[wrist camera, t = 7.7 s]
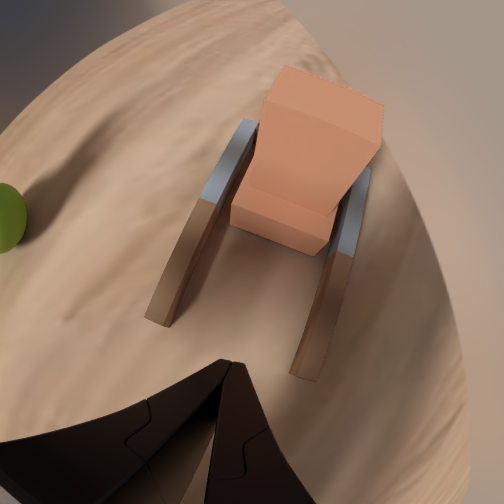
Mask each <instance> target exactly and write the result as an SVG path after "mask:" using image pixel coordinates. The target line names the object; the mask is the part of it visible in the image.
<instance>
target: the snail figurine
mask: <svg viewBox="0 0 504 504" xmlns="http://www.w3.org/2000/svg"><path fill="white" fill-rule="evenodd" d="M26 223H27V210H26V205H25V202H24V200H23V198H22V196H21V194H20V193H19V192H18V191H17V190H16V189H15V188H14V187H12V186H10V185H8V184H5V183H0V254H2V253H5V252H7V251H9V250H11V249H12V248H13V247H15V246H16V245H17V243H18V242H19V241H20V239H21V238H22V236H23V234H24V231H25V228H26Z"/></svg>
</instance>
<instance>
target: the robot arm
mask: <svg viewBox="0 0 504 504" xmlns="http://www.w3.org/2000/svg"><path fill="white" fill-rule="evenodd" d="M214 432H215V434H214ZM213 434H214V441H213V447H212V453H211V460H210V466H209V473H208V479H207V486H206V492H205V499H204V504H316V503H315V501H314V500H313V498H312V497H311V496H310V494H309V493H308V491H307V490H306V489H305V487H304V486H303V484H302V483H301V481H300V480H299V478H298V477H297V476H296V474H295V473H294V471H293V470H292V468H291V467H290V465H289V464H288V462H287V460H286V459H285V457H284V455H283V454H282V452H281V450H280V448H279V446H278V444H277V442H276V440H275V438H274V435H273V433H272V431H271V429H270V427H269V424H268V422H267V419H266V417H265V414H264V412H263V409H262V407H261V404H260V402H259V399H258V397H257V394H256V391H255V389H254V386H253V384H252V381H251V378H250V376H249V373H248V370H247V368H246V365H245V364H244V363H240V362H231V361H229V360H224V359H219V360H217V361H215V362H213V363H212V364H210V365H208V366H206V367H205V368H203V369H201V370H199V371H198V372H196V373H194V374H192V375H190V376H189V377H187V378H185V379H183V380H181V381H179V382H177V383H176V384H174V385H172V386H170V387H168V388H166V389H164V390H162V391H160V392H159V393H157V394H155V395H153V396H151V397H149V398H147V400H146V399H144V400H142V401H140V402H138V403H136V404H134V405H132V406H129V407H127V408H125V409H123V410H120V411H117V412H115V413H112V414H109V415H106V416H103V417H100V418H97V419H94V420H91V421H87V422H84V423H81V424H77V425H74V426H70V427H67V428H63V429H60V430H56V431H52V432H48V433H44V434H40V435H35V436H31V437H27V438H22V439H17V440H12V441H7V442H0V504H180V502H181V500H182V498H183V496H184V494H185V492H186V490H187V488H188V486H189V484H190V482H191V480H192V478H193V476H194V474H195V472H196V470H197V468H198V465H199V463H200V461H201V459H202V457H203V455H204V453H205V451H206V449H207V447H208V444H209V442H210V440H211V438H212V436H213Z"/></svg>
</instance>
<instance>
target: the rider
mask: <svg viewBox="0 0 504 504" xmlns="http://www.w3.org/2000/svg"><path fill="white" fill-rule="evenodd" d="M383 116H384V105H383V104H380V103H378V102H377V101H375V100H373V99H371V98H368V97H366V96H364V95H362V94H360V93H358V92H356V91H353V90H351V89H349V88H346V87H344V86H342V85H339V84H337V83H334V82H332V81H329V80H327V79H324V78H321V77H319V76H316V75H313V74H310V73H308V72H305V71H302V70H299V69H296V68H293V67H290V66H287V65H285V66H284V67H283V69H282V70H281V72H280V74H279V75H278V77H277V79H276V80H275V82H274V84H273V85H272V87H271V89H270V90H269V92H268V94H267V96H266V97H265V99H264V103H263V109H262V114H261V120H260V125H259V131H258V136H257V142H256V147H255V153H254V157H253V159H252V161H251V163H250V165H249V167H248V169H247V171H246V174H245V176H244V178H243V180H242V182H241V184H240V186H239V188H238V191H237V193H236V195H235V197H234V199H233V201H232V203H231V215H230V225H233V226H235V227H238V228H241V229H243V230H246V231H249V232H251V233H254V234H256V235H259V236H262V237H264V238H267V239H269V240H272V241H274V242H277V243H280V244H282V245H285V246H287V247H290V248H292V249H295V250H298V251H300V252H303V253H305V254H308V255H310V256H313V257H314V256H315V255H316V254H317V253H318V252H319V251H320V250H321V249H322V248H323V247H324V246H325V245H326V244H327V243H328V242H329V238H330V235H331V231H332V227H333V223H334V220H335V216H336V212H337V208H338V204H339V201H340V199H341V198H342V197H343V196H344V194H345V193H346V192H347V190H348V189H349V188H350V186H351V185H352V184H353V183H354V181H355V180H356V179H357V177H358V176H359V175H360V173H361V172H362V171H363V169H364V168H365V167H366V165H367V164H368V163H369V161H370V160H371V159H372V157H373V156H374V155H375V153H376V152H377V151H378V149H379V148H380V147H381V138H382V127H383Z"/></svg>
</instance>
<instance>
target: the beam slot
mask: <svg viewBox="0 0 504 504" xmlns="http://www.w3.org/2000/svg"><path fill="white" fill-rule="evenodd" d="M259 125H260V123H257V122H254V121H251V120H248V119H245V118H243V119H242V121H241V123H240V124H239V126H238V128H237V130H236V131H235V133H234V135H233V137H232V138H231V140H230V142H229V144H228V145H227V147H226V149H225V151H224V152H223V154H222V156H221V158H220V160H219V161H218V163H217V165H216V167H215V169H214V171H213V173H212V174H211V176H210V178H209V180H208V182H207V184H206V186H205V188H204V189H203V191H202V193H201V195H200V197H199V199H198V201H197V203H196V205H195V207H194V209H193V211H192V213H191V215H190V217H189V219H188V221H187V223H186V225H185V227H184V229H183V231H182V233H181V235H180V237H179V239H178V242H177V244H176V246H175V248H174V250H173V252H172V254H171V256H170V259H169V261H168V263H167V265H166V267H165V270H164V272H163V274H162V276H161V278H160V281H159V283H158V285H157V288H156V290H155V292H154V294H153V297H152V299H151V301H150V304H149V306H148V309H147V311H146V313H145V316H144V318H146V319H149V320H151V321H153V322H155V323H157V324H159V325H162V326H164V327H168V328H169V327H170V324H171V322H172V320H173V317H174V315H175V312H176V310H177V307H178V305H179V303H180V300H181V298H182V295H183V293H184V291H185V288H186V286H187V284H188V281H189V279H190V277H191V274H192V272H193V270H194V268H195V265H196V263H197V261H198V259H199V256H200V254H201V252H202V250H203V247H204V245H205V243H206V241H207V238H208V236H209V234H210V232H211V230H212V228H213V225H214V223H215V221H216V219H217V217H218V215H219V212H220V210H221V208H222V206H223V204H224V202H225V200H226V198H227V196H228V193H229V191H230V189H231V187H232V185H233V183H234V181H235V179H236V177H237V175H238V173H239V171H240V169H241V167H242V165H243V163H244V161H245V159H246V157H247V155H248V153H249V151H250V149H251V147H252V145H256V142H257V136H258V131H259ZM370 172H371V168H370V167H368V166H366V167H365V168H364V169H363V171H362V172H361V173H360V175H359V176H358V177H357V179H356V180H355V181H354V183H353V184H352V185H351V186H350V188H349V189H348V190H347V192H346V193H345V194H344V196H343V198H342V202H341V206H340V210H339V214H338V218H337V222H336V226H335V230H334V234H333V237H332V241H331V245H330V248H329V252H328V256H327V259H326V263H325V266H324V270H323V273H322V276H321V280H320V283H319V286H318V290H317V293H316V296H315V299H314V302H313V305H312V309H311V312H310V315H309V318H308V321H307V324H306V327H305V330H304V333H303V336H302V339H301V341H300V344H299V347H298V350H297V353H296V356H295V358H294V361H293V364H292V367H291V369H290V372H289V373H290V374H292V375H294V376H297V377H300V378H303V379H306V380H310V381H313V382H316V381H317V378H318V375H319V372H320V370H321V367H322V364H323V361H324V358H325V355H326V352H327V349H328V346H329V343H330V340H331V337H332V334H333V330H334V327H335V324H336V321H337V317H338V314H339V310H340V307H341V303H342V300H343V296H344V293H345V289H346V285H347V282H348V278H349V274H350V270H351V266H352V262H353V258H354V253H355V249H356V245H357V240H358V236H359V231H360V227H361V222H362V217H363V212H364V207H365V201H366V196H367V190H368V184H369V179H370Z"/></svg>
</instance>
